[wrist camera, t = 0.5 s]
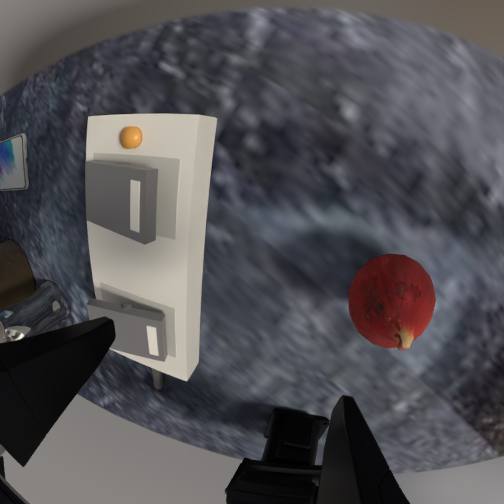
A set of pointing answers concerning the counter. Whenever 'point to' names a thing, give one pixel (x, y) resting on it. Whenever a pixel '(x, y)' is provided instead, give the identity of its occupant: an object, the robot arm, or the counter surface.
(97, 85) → the counter surface
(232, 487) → the robot arm
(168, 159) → the power strip
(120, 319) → the rocker
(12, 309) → the beer glass
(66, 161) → the counter surface
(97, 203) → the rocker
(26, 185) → the smartphone
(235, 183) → the counter surface
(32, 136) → the counter surface
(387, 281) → the onion
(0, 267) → the pillar candle
